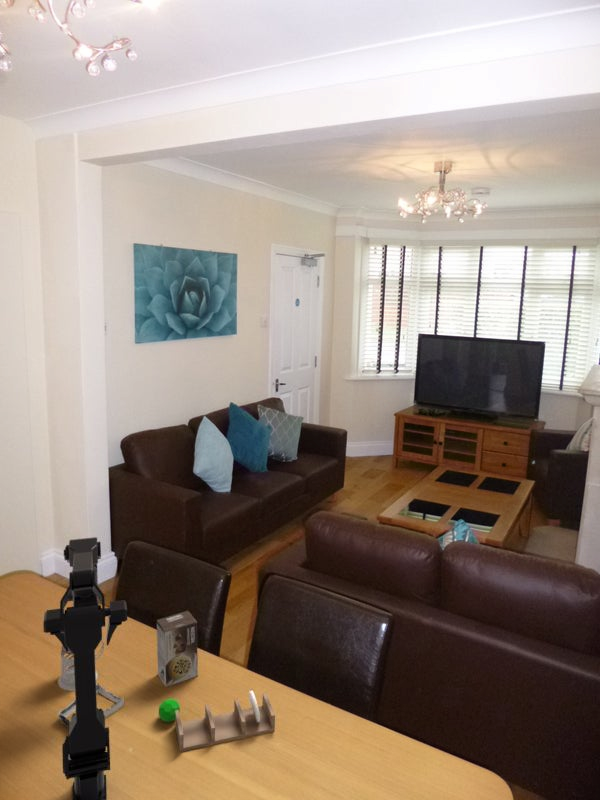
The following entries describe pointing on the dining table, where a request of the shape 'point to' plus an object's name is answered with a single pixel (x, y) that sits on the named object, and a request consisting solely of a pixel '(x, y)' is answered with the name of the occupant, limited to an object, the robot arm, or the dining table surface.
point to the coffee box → (177, 648)
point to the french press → (70, 670)
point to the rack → (224, 726)
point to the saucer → (254, 706)
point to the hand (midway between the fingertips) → (87, 647)
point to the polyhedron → (168, 709)
